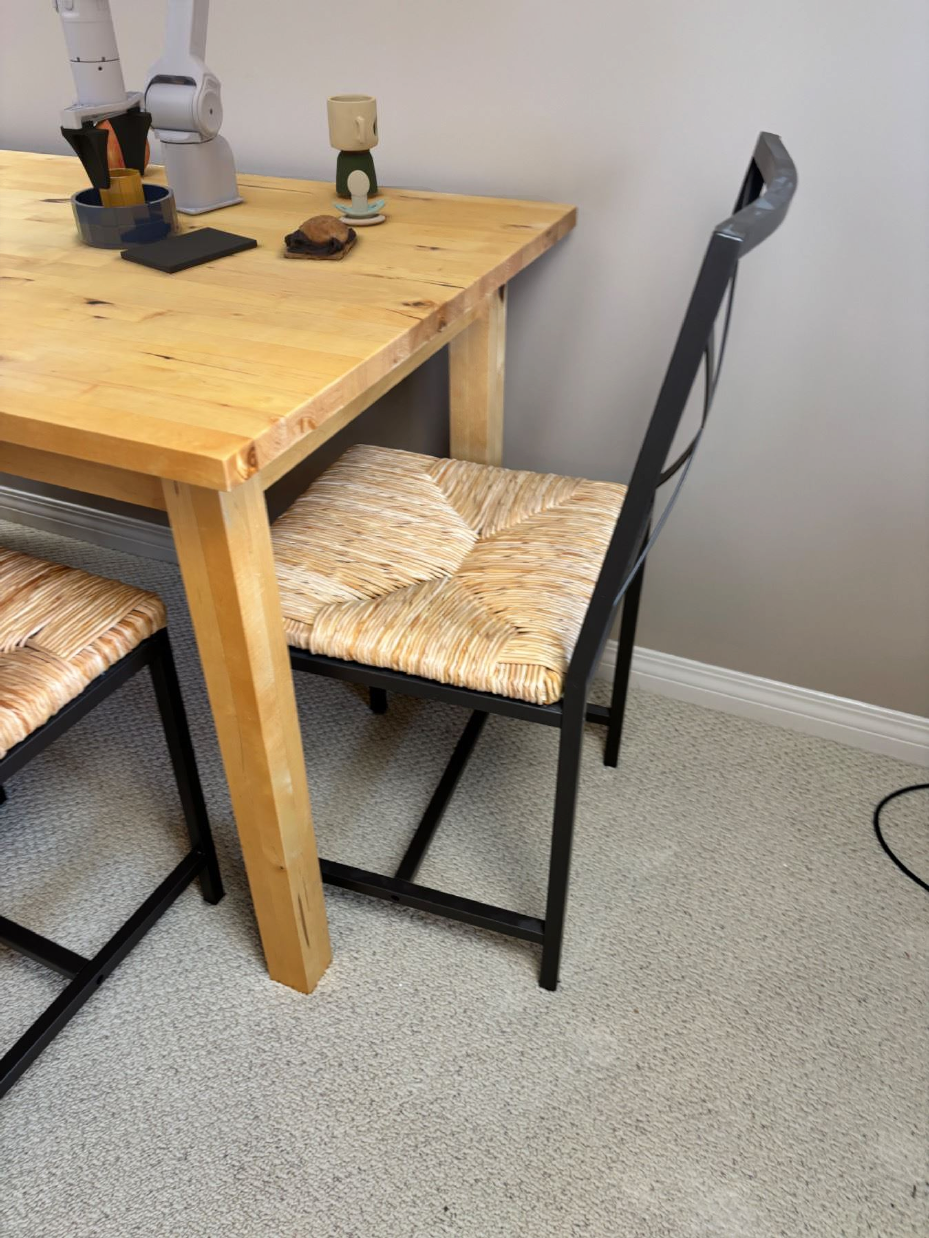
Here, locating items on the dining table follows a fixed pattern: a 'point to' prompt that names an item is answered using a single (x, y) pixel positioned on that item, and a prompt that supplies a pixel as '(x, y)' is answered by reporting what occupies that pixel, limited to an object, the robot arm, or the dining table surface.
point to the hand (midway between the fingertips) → (119, 181)
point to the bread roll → (320, 239)
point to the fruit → (117, 147)
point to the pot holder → (188, 249)
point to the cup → (123, 188)
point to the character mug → (353, 137)
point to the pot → (125, 219)
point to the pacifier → (360, 202)
